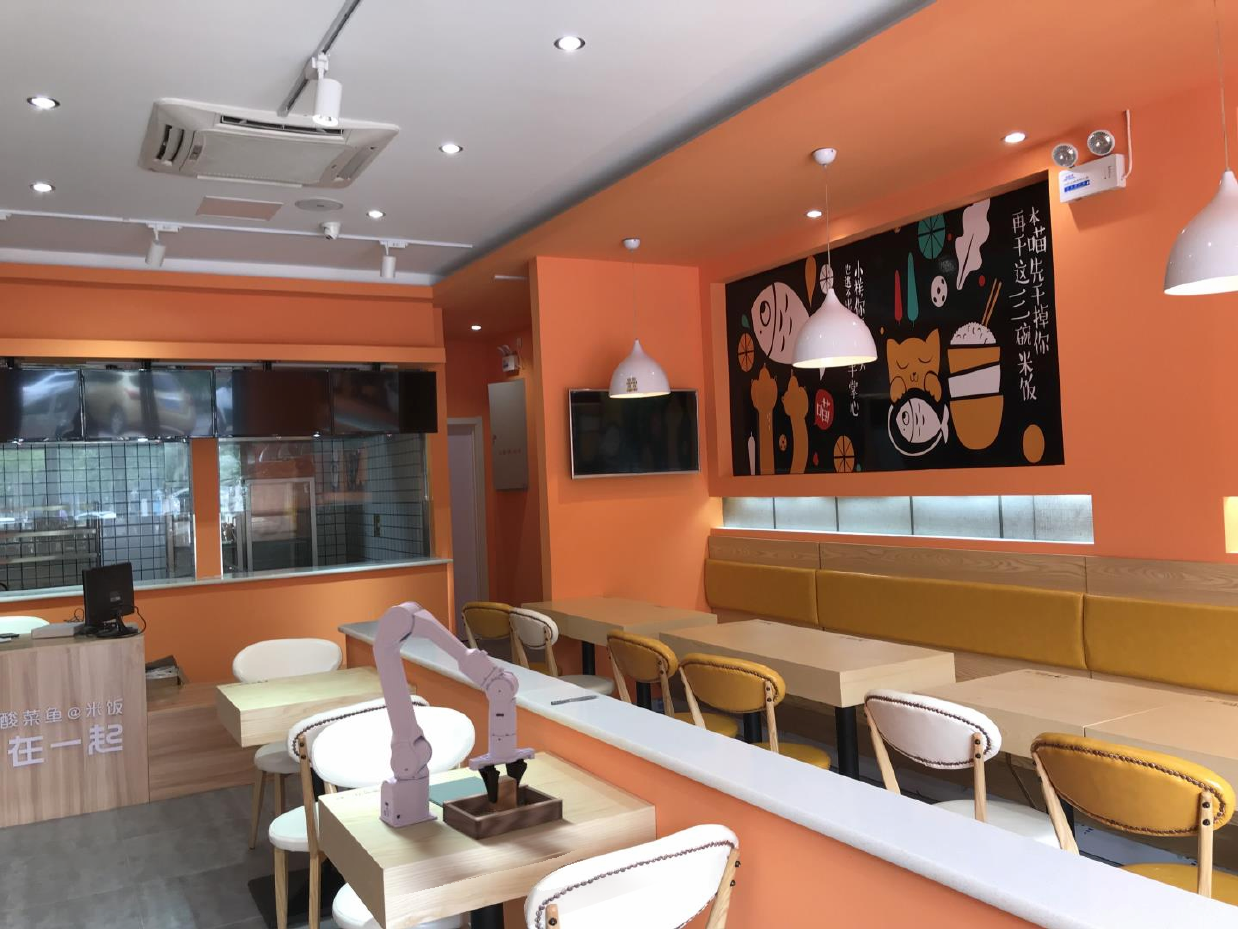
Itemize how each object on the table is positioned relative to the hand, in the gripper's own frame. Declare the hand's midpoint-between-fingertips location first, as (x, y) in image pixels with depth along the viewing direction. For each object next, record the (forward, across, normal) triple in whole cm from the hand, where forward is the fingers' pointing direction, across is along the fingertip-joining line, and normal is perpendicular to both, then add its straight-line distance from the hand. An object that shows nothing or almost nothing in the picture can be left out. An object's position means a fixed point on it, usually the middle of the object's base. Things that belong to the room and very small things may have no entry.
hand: (502, 799), depth 198 cm
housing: (+4, 0, 0) cm, 4 cm away
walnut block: (+2, 0, 0) cm, 2 cm away
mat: (+4, +2, +21) cm, 21 cm away
